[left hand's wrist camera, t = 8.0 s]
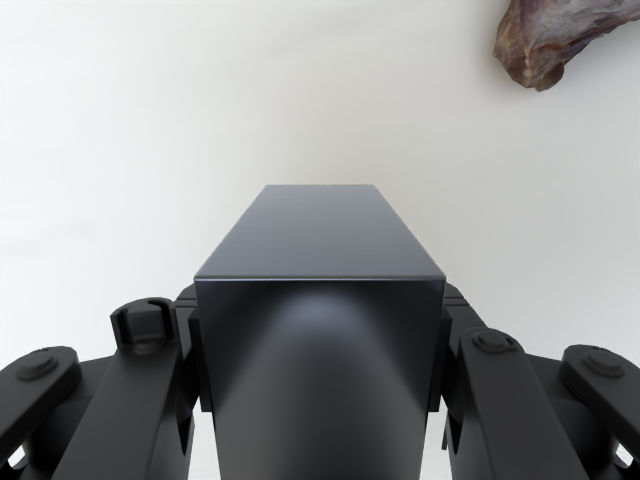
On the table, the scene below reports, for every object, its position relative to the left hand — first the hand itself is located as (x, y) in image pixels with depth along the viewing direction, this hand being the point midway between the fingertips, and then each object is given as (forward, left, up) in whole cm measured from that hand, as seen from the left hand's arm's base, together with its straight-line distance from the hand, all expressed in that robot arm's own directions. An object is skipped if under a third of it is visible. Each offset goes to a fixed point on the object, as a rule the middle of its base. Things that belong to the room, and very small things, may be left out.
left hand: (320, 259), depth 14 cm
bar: (+8, +7, -1) cm, 11 cm away
